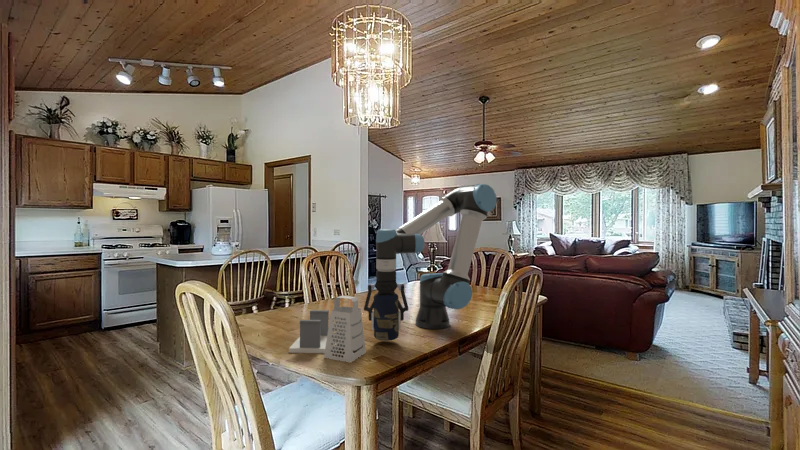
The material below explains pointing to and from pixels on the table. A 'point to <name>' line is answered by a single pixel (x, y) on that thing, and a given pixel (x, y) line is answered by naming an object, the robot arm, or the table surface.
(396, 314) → the canister
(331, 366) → the table surface
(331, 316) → the grater
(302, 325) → the napkin holder
